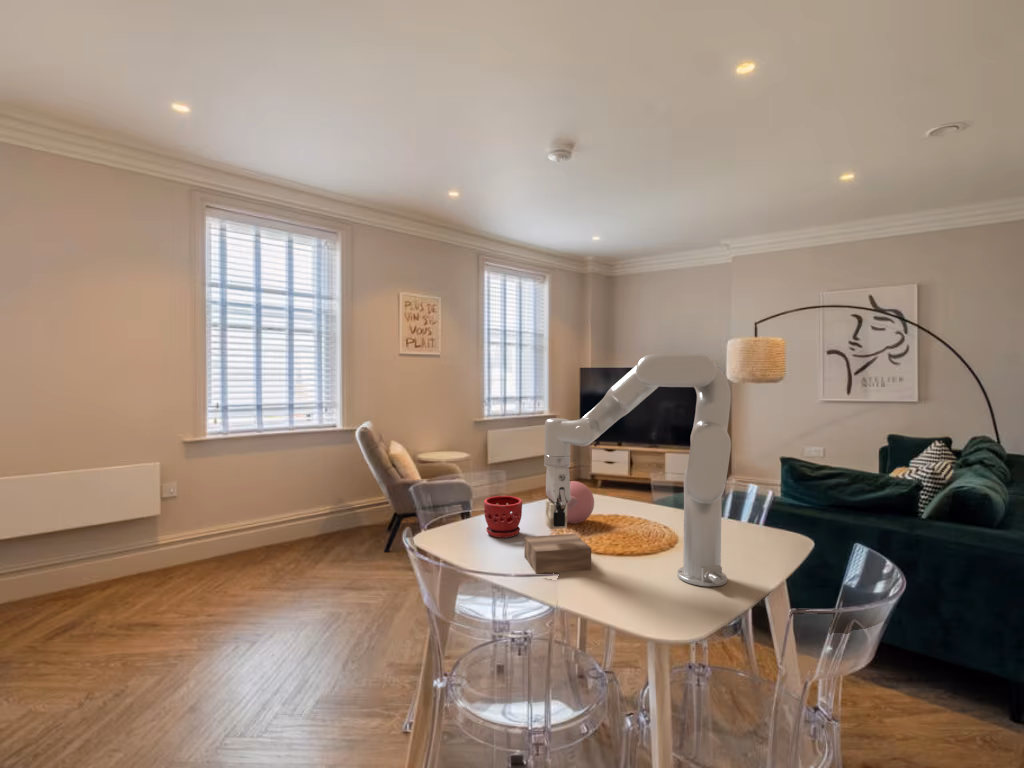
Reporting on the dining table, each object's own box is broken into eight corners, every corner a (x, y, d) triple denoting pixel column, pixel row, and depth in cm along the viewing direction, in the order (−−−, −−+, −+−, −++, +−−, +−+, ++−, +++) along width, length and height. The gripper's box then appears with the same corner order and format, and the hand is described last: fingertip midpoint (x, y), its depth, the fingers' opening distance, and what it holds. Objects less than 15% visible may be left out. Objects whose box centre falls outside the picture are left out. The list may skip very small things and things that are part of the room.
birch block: (566, 528, 153) (567, 503, 153) (550, 529, 152) (550, 504, 152) (561, 523, 158) (562, 500, 158) (545, 524, 157) (545, 500, 157)
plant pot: (478, 531, 187) (478, 497, 187) (512, 527, 192) (512, 494, 192) (492, 542, 175) (492, 505, 175) (528, 537, 180) (528, 501, 180)
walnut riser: (591, 569, 150) (591, 548, 150) (535, 573, 147) (536, 551, 147) (575, 553, 164) (575, 533, 164) (524, 556, 161) (524, 536, 160)
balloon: (540, 527, 192) (540, 485, 192) (561, 515, 209) (562, 476, 209) (580, 534, 185) (581, 489, 184) (599, 520, 202) (599, 480, 202)
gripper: (579, 465, 147) (578, 531, 148) (561, 456, 164) (560, 515, 164) (552, 466, 146) (551, 532, 146) (537, 456, 163) (536, 516, 163)
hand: (556, 522), depth 155 cm, fingers closed on birch block, 5 cm apart
